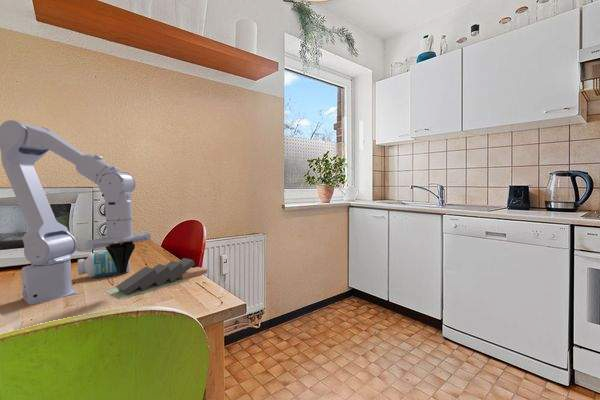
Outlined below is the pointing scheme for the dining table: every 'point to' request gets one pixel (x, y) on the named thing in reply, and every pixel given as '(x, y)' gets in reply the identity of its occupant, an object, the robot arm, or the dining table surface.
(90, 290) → the dining table surface
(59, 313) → the dining table surface
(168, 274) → the domino
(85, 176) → the robot arm
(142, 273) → the domino
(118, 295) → the mat
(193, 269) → the domino
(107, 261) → the pill bottle
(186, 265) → the domino
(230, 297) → the dining table surface
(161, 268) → the domino
